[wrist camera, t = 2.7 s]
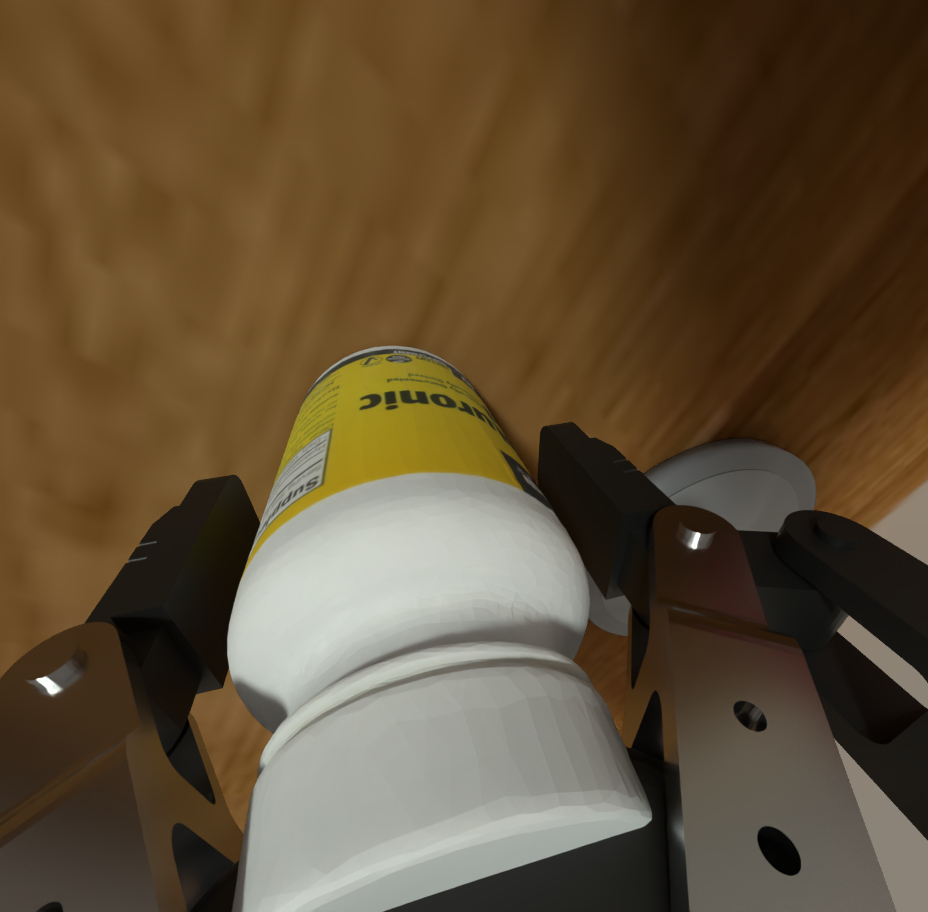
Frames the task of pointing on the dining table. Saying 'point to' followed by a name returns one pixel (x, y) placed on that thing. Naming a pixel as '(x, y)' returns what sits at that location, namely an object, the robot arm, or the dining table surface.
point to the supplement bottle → (414, 655)
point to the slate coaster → (722, 498)
